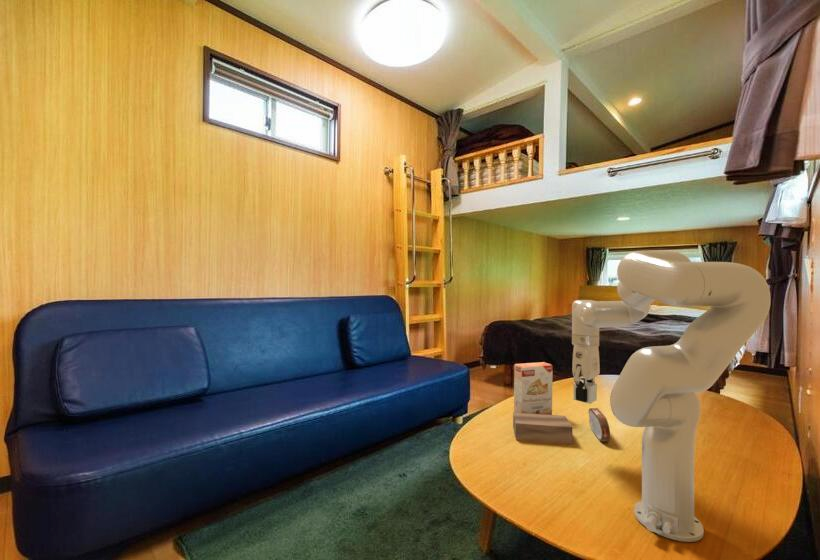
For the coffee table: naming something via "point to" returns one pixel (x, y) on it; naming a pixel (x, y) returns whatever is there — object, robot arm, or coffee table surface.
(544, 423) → the walnut block
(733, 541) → the coffee table surface
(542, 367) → the cracker box
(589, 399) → the white cube
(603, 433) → the tin
